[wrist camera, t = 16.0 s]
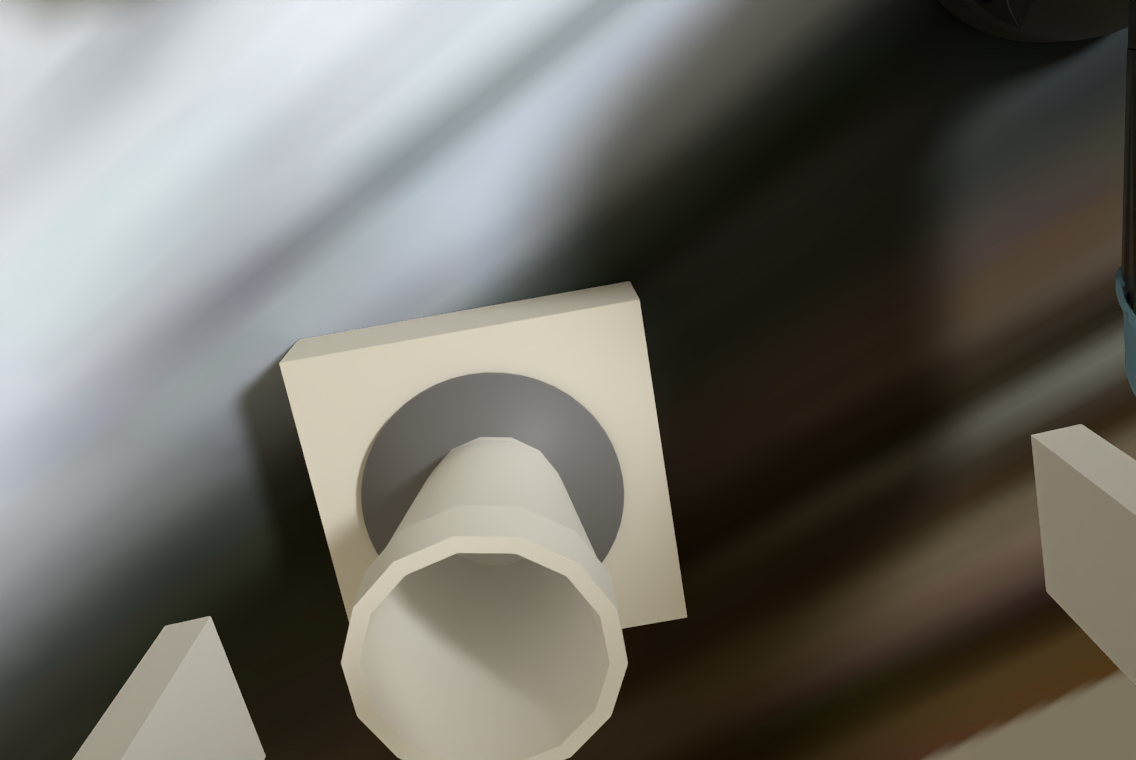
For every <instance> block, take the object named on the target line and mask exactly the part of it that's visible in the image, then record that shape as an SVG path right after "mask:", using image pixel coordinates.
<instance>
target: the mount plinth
mask: <svg viewBox="0 0 1136 760" xmlns="http://www.w3.org/2000/svg"><path fill="white" fill-rule="evenodd" d="M279 365H280V368H281V372H282V376H283V380H284V383H285V387H286V391H287V394H288V398H289V402H290V406H291V409H292V413H293V417H294V420H295V424H296V428H297V432H298V435H299V439H300V443H301V446H302V450H303V454H304V457H305V461H306V465H307V469H308V472H309V476H310V480H311V483H312V487H313V491H314V495H315V498H316V502H317V506H318V509H319V513H320V517H321V521H322V524H323V528H324V532H325V535H326V539H327V543H328V547H329V550H330V554H331V558H332V561H333V565H334V569H335V572H336V576H337V580H338V584H339V587H340V591H341V595H342V598H343V602H344V606H345V610H346V613H347V617H348V621H349V624H350V620H351V615H352V611H353V607H354V603H355V600H356V597H357V594H358V591H359V587H360V584H361V581H362V578H363V575H364V572H365V571H366V570H367V569H368V567H369V566H370V565H371V564H372V563H373V562H374V561H375V559H376V558H377V557H378V556H379V555H380V554H381V553H382V551H383V550H384V549H385V548H386V546H387V545H388V543H389V542H390V540H391V538H392V537H393V535H394V533H395V532H396V530H397V528H398V527H399V525H400V523H401V522H402V520H403V518H404V517H405V515H406V513H407V512H408V510H409V508H410V507H411V505H412V504H413V502H414V500H415V499H416V497H417V495H418V494H419V492H420V490H421V489H422V487H423V485H424V484H425V482H426V480H427V479H428V477H429V476H430V475H431V473H432V471H433V470H434V469H435V468H436V467H437V466H438V464H439V463H440V462H441V461H442V460H443V459H444V458H445V456H446V455H447V454H448V453H449V452H450V451H451V449H454V448H456V447H458V446H461V445H463V444H465V443H467V442H470V441H472V440H474V439H477V438H479V437H512V438H514V439H516V440H518V441H520V442H522V443H524V444H527V445H529V446H531V447H533V448H535V449H537V450H539V451H540V452H541V453H542V454H543V455H544V457H545V458H546V459H547V460H548V461H549V463H550V464H551V465H552V466H553V468H554V469H555V470H556V471H557V472H558V474H559V476H560V478H561V479H562V482H563V484H564V486H565V488H566V490H567V493H568V495H569V497H570V499H571V501H572V504H573V506H574V508H575V510H576V512H577V515H578V517H579V519H580V521H581V523H582V526H583V528H584V530H585V532H586V534H587V537H588V539H589V541H590V543H591V545H592V548H593V550H594V552H595V554H596V556H597V558H598V559H599V561H600V562H601V563H602V564H603V565H604V567H605V568H606V569H607V570H608V571H609V573H610V574H611V578H612V583H613V588H614V593H615V598H616V603H617V608H618V613H619V618H620V623H621V628H622V629H623V628H629V627H635V626H640V625H646V624H652V623H658V622H663V621H669V620H675V619H681V618H686V617H687V612H686V605H685V599H684V592H683V585H682V579H681V572H680V566H679V559H678V552H677V546H676V539H675V532H674V526H673V519H672V512H671V506H670V499H669V492H668V486H667V479H666V472H665V466H664V459H663V452H662V446H661V439H660V432H659V426H658V419H657V412H656V406H655V399H654V392H653V386H652V379H651V372H650V366H649V359H648V352H647V346H646V339H645V333H644V326H643V319H642V313H641V306H640V299H639V298H638V296H637V294H636V292H635V290H634V288H633V286H632V284H631V283H630V281H628V282H622V283H616V284H611V285H605V286H599V287H594V288H588V289H582V290H577V291H571V292H565V293H560V294H554V295H548V296H543V297H537V298H531V299H526V300H520V301H514V302H509V303H503V304H497V305H492V306H486V307H480V308H475V309H469V310H463V311H458V312H452V313H446V314H441V315H435V316H429V317H423V318H418V319H412V320H406V321H401V322H395V323H389V324H384V325H378V326H372V327H367V328H361V329H355V330H350V331H344V332H338V333H333V334H327V335H321V336H316V337H310V338H304V339H299V340H298V341H297V342H296V343H295V344H294V346H293V347H292V348H291V349H290V350H289V352H288V353H287V354H286V355H285V356H284V358H283V359H282V360H281V361H280V363H279Z"/></svg>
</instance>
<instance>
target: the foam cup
mask: <svg viewBox="0 0 1136 760" xmlns="http://www.w3.org/2000/svg"><path fill="white" fill-rule="evenodd" d="M341 665H342V669H343V672H344V675H345V678H346V682H347V685H348V688H349V691H350V695H351V698H352V701H353V704H354V708H355V711H356V714H357V717H358V718H359V719H360V720H361V721H362V722H363V723H364V724H365V725H366V726H367V727H368V728H369V729H370V730H371V731H372V732H373V733H374V734H375V735H376V736H377V737H378V738H379V739H380V740H381V741H382V742H383V743H384V744H385V745H386V746H387V747H388V748H389V749H390V750H391V751H392V752H393V753H394V754H395V755H396V756H397V757H398V758H400V759H402V760H565V759H567V758H570V757H571V756H572V755H573V754H574V753H575V752H576V751H577V750H578V749H579V748H580V747H581V746H582V745H583V744H584V743H585V742H586V741H587V740H588V739H589V738H590V737H591V736H592V735H593V734H594V733H595V732H596V731H597V730H598V729H599V728H600V727H601V726H602V725H603V724H604V723H605V722H606V721H607V720H608V719H609V718H610V717H611V715H612V712H613V709H614V706H615V703H616V699H617V696H618V693H619V690H620V687H621V684H622V681H623V678H624V674H625V671H626V668H627V665H628V661H627V655H626V650H625V644H624V639H623V633H622V628H621V623H620V618H619V613H618V608H617V603H616V598H615V593H614V588H613V583H612V578H611V574H610V573H609V571H608V570H607V569H606V568H605V567H604V565H603V564H602V563H601V562H600V561H599V559H598V558H597V556H596V554H595V552H594V550H593V548H592V545H591V543H590V541H589V539H588V537H587V534H586V532H585V530H584V528H583V526H582V523H581V521H580V519H579V517H578V515H577V512H576V510H575V508H574V506H573V504H572V501H571V499H570V497H569V495H568V493H567V490H566V488H565V486H564V484H563V482H562V479H561V478H560V476H559V474H558V472H557V471H556V470H555V469H554V468H553V466H552V465H551V464H550V463H549V461H548V460H547V459H546V458H545V457H544V455H543V454H542V453H541V452H540V451H539V450H537V449H535V448H533V447H531V446H529V445H527V444H524V443H522V442H520V441H518V440H516V439H514V438H512V437H479V438H477V439H474V440H472V441H470V442H467V443H465V444H463V445H461V446H458V447H456V448H454V449H451V451H450V452H449V453H448V454H447V455H446V456H445V458H444V459H443V460H442V461H441V462H440V463H439V464H438V466H437V467H436V468H435V469H434V470H433V471H432V473H431V475H430V476H429V477H428V479H427V480H426V482H425V484H424V485H423V487H422V489H421V490H420V492H419V494H418V495H417V497H416V499H415V500H414V502H413V504H412V505H411V507H410V508H409V510H408V512H407V513H406V515H405V517H404V518H403V520H402V522H401V523H400V525H399V527H398V528H397V530H396V532H395V533H394V535H393V537H392V538H391V540H390V542H389V543H388V545H387V546H386V548H385V549H384V550H383V551H382V553H381V554H380V555H379V556H378V557H377V558H376V559H375V561H374V562H373V563H372V564H371V565H370V566H369V567H368V569H367V570H366V571H365V572H364V575H363V578H362V581H361V584H360V587H359V591H358V594H357V597H356V600H355V603H354V607H353V611H352V615H351V620H350V624H349V629H348V633H347V637H346V642H345V646H344V651H343V655H342V660H341Z"/></svg>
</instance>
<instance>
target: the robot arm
mask: <svg viewBox="0 0 1136 760" xmlns="http://www.w3.org/2000/svg"><path fill="white" fill-rule="evenodd" d="M937 1H938V2H939V3H940V4H941V5H942V6H943V7H944V8H945V9H947V10H948V11H949V12H950V13H951V14H953V15H954V16H956V17H957V18H958V19H960V20H961V21H963V22H965V23H966V24H968V25H970V26H972V27H974V28H976V29H978V30H980V31H982V32H985V33H988V34H990V35H993V36H996V37H1000V38H1003V39H1008V40H1013V41H1020V42H1031V43H1045V42H1061V41H1076V40H1083V39H1089V38H1094V37H1099V36H1103V35H1106V34H1109V33H1113V32H1116V31H1118V30H1121V29H1124V28H1126V27H1128V48H1127V68H1126V109H1125V149H1124V190H1123V231H1122V265H1121V267H1120V268H1119V270H1118V272H1117V274H1116V293H1117V298H1118V302H1119V304H1120V306H1121V308H1122V310H1123V314H1124V339H1125V366H1126V373H1127V377H1128V380H1129V383H1130V386H1131V389H1132V391H1133V393H1134V394H1135V396H1136V0H937ZM1031 440H1032V450H1033V460H1034V471H1035V481H1036V491H1037V501H1038V511H1039V521H1040V532H1041V542H1042V552H1043V562H1044V572H1045V582H1046V591H1047V592H1048V593H1049V595H1050V596H1051V597H1052V598H1053V599H1054V600H1055V601H1056V602H1057V603H1058V604H1059V605H1060V606H1061V607H1062V608H1063V609H1064V610H1065V611H1066V613H1067V614H1068V615H1069V616H1070V617H1071V618H1072V619H1073V620H1074V621H1075V622H1076V623H1077V624H1078V625H1079V626H1080V627H1081V628H1082V629H1083V630H1084V632H1085V633H1086V634H1087V635H1088V636H1089V637H1090V638H1091V639H1092V640H1093V641H1094V642H1095V643H1096V644H1097V645H1098V646H1099V647H1100V648H1101V650H1102V651H1103V652H1104V653H1105V654H1106V655H1107V656H1108V657H1109V658H1110V659H1111V660H1112V661H1113V662H1114V663H1115V664H1116V665H1117V666H1118V667H1119V669H1120V670H1121V671H1122V672H1123V673H1124V674H1125V675H1126V676H1127V677H1128V678H1129V679H1130V680H1131V681H1132V682H1133V683H1134V684H1135V685H1136V461H1135V460H1134V459H1132V458H1131V457H1130V456H1128V455H1127V454H1125V453H1124V452H1122V451H1121V450H1119V449H1118V448H1116V447H1115V446H1113V445H1112V444H1110V443H1109V442H1107V441H1106V440H1104V439H1103V438H1101V437H1100V436H1098V435H1097V434H1095V433H1094V432H1092V431H1091V430H1089V429H1088V428H1086V427H1085V426H1083V425H1082V424H1080V425H1075V426H1071V427H1066V428H1061V429H1057V430H1052V431H1048V432H1043V433H1039V434H1034V435H1031ZM265 757H266V755H265V753H264V750H263V748H262V745H261V743H260V740H259V738H258V735H257V733H256V730H255V727H254V725H253V722H252V720H251V717H250V715H249V712H248V710H247V707H246V705H245V702H244V699H243V697H242V694H241V692H240V689H239V687H238V684H237V682H236V679H235V677H234V674H233V672H232V669H231V666H230V664H229V661H228V659H227V656H226V654H225V651H224V649H223V646H222V644H221V641H220V638H219V636H218V633H217V631H216V628H215V626H214V623H213V621H212V618H211V616H208V617H203V618H199V619H194V620H190V621H185V622H181V623H176V624H172V625H167V626H165V627H164V628H163V630H162V631H161V632H160V634H159V635H158V637H157V638H156V640H155V641H154V643H153V644H152V645H151V647H150V648H149V650H148V651H147V653H146V654H145V656H144V657H143V658H142V660H141V661H140V663H139V664H138V666H137V667H136V669H135V670H134V671H133V673H132V674H131V676H130V677H129V679H128V680H127V682H126V683H125V684H124V686H123V687H122V689H121V690H120V692H119V693H118V694H117V696H116V697H115V699H114V700H113V702H112V703H111V705H110V706H109V707H108V709H107V710H106V712H105V713H104V715H103V716H102V718H101V719H100V720H99V722H98V723H97V725H96V726H95V728H94V729H93V731H92V732H91V733H90V735H89V736H88V738H87V739H86V741H85V742H84V744H83V745H82V746H81V748H80V749H79V751H78V752H77V754H76V755H75V756H74V758H73V759H72V760H265Z"/></svg>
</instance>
